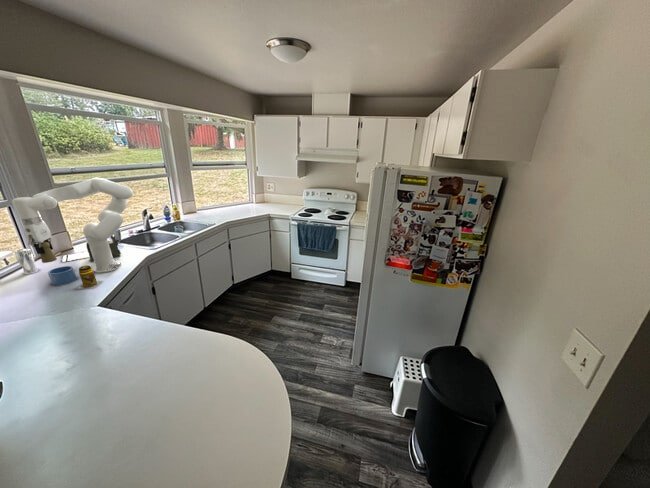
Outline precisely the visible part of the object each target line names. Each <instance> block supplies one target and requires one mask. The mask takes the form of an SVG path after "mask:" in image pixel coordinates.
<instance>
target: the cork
mask: <svg viewBox="0 0 650 488" xmlns="http://www.w3.org/2000/svg"><path fill="white" fill-rule="evenodd" d="M41 247H43V248H44V251H45V254H39V256H40V259H41V263H42V264H47V263H48V264H49V263H52V262H55V261H57V260H58V258H57V257H56V255H55V253H54V252H53V251H52V250H51V249H50V248H49V247H50V244H49V243H48V242H43V241H42V242H41Z"/></svg>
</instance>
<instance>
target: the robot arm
mask: <svg viewBox="0 0 650 488" xmlns="http://www.w3.org/2000/svg"><path fill="white" fill-rule="evenodd" d="M99 193H102V194H106V195H109V196H111V200H110V202H109V203H108V204H107V205H106V206H105V208H104V209H102V210H101V211H100V212H99V213H98V215H97V220H98V222H99V223H97V222H90V223H87V224H85V225H84V227H83V229H82V231H83V235H84V237H85V239H86V242H87V241H88V244H89V247H90V250H91V253H92V256H93V259H94V261H93V263H94V265H95V268H94V269H93V272H94V273H97V274H101V273H108V272H112V271H114V270H117V269H118V268H119V267H122V262H121V261H118V262H117V261H116V260H115V259H114V257H113V256H112V253H111V250H110V246H109V243H108V240H109V239H110V238H112V237H111V236H112V235H114V234H115V232H116V231H117V230H118V229H119V228H120V227H121V226H122V224H123V223H124V217H123V215H122V214H123V213H124V211H126V208H127V206H128V200H129V199H131V198H132V197H133V195H134V191H133V189H132V188H131V187H130V186H127V185H124V184H122V183H119V182H115V181H112V180H109V179H106V178H101V177H93V178H89V179H86V180H82V181H80V182H76V183H73V184H68V185H65V186H61V187H56V188H51V189H49V190H45V191H41V192H39V193H35V194H34V195H32V197H30V196H23V197H21V196H20V197H15V198H13V199H12V201H11V203H12V205H13V207H14V209H15V212H16V214H17V216H18V218H19V220H20V222H21V225H22V229H23V231H24V235H25V237H26V239H27V241H28V242H27V245H28V246H30V247H32V248H34V249H35V252H36V253H37V255H40V254H45V251H44V248H43V247H41V242H48V243H49V244H50V247H49V248H50V249H51V251H52V250H54V247H53V245H52V240H51V239H52V237H53V235H52V232H51V231H50V228H49V227H48V225H47V223H46V222H45V221H44V220H43V218H42V216H41V212H40V211H41V210H42V211H43V210H45V211H46V210H52V209H54V208H56V207H57V206H58V203H61V202H64V201H72V200H73V201H74V200H80V199H84V198H86V197H90V196H92V195H96V194H99Z"/></svg>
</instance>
